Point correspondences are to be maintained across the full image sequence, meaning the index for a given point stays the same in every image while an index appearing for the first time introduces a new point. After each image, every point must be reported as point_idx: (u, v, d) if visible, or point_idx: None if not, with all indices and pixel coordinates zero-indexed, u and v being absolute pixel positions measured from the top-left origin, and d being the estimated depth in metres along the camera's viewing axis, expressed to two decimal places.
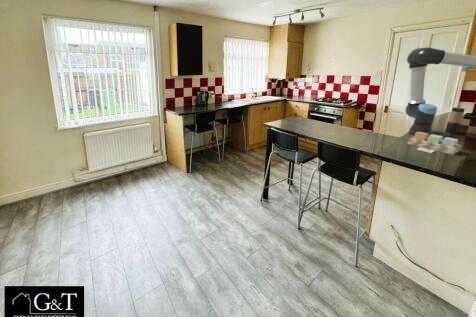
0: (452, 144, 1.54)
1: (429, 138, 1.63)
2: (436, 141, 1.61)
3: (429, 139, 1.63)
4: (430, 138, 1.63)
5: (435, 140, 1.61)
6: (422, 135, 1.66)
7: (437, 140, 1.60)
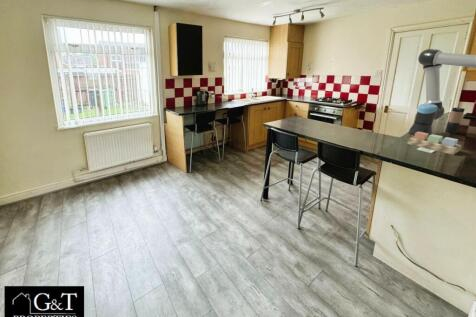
0: (452, 144, 1.54)
1: (429, 138, 1.63)
2: (436, 141, 1.61)
3: (429, 139, 1.63)
4: (430, 138, 1.63)
5: (435, 140, 1.61)
6: (422, 135, 1.66)
7: (437, 140, 1.60)
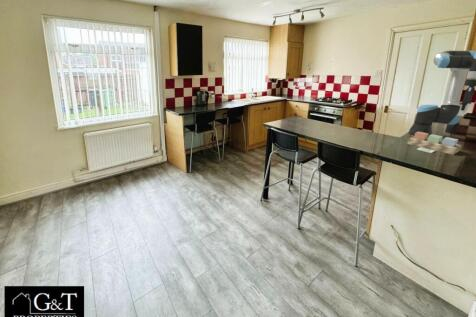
0: (452, 144, 1.54)
1: (429, 138, 1.63)
2: (436, 141, 1.61)
3: (429, 139, 1.63)
4: (430, 138, 1.63)
5: (435, 140, 1.61)
6: (422, 135, 1.66)
7: (437, 140, 1.60)
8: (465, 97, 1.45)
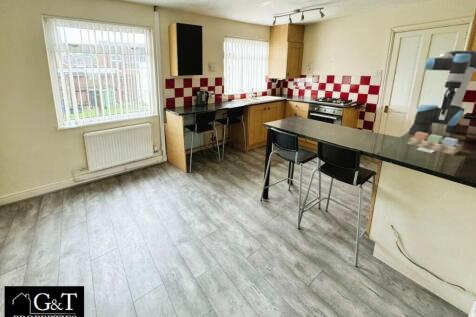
0: (452, 144, 1.54)
1: (429, 138, 1.63)
2: (436, 141, 1.61)
3: (429, 139, 1.63)
4: (430, 138, 1.63)
5: (435, 140, 1.61)
6: (422, 135, 1.66)
7: (437, 140, 1.60)
8: (443, 103, 1.53)
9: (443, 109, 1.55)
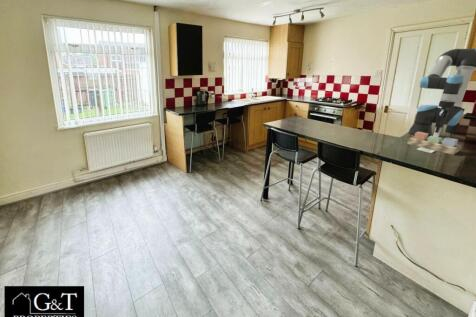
0: (452, 144, 1.54)
1: (429, 139, 1.64)
2: (436, 142, 1.61)
3: (429, 140, 1.64)
4: (430, 139, 1.63)
5: (435, 141, 1.61)
6: (422, 135, 1.66)
7: (437, 141, 1.60)
8: (437, 121, 1.57)
9: (437, 127, 1.60)
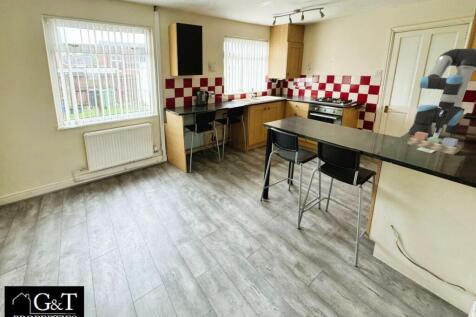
0: (452, 144, 1.54)
1: (428, 141, 1.64)
2: None
3: None
4: (429, 141, 1.64)
5: None
6: (422, 135, 1.66)
7: None
8: (437, 122, 1.57)
9: (437, 128, 1.60)
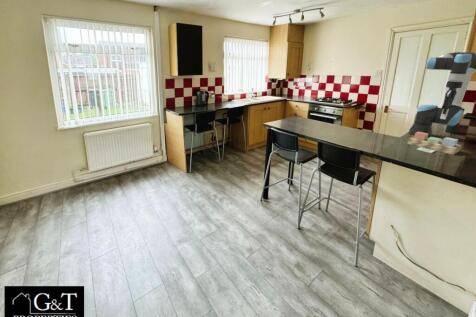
0: (452, 144, 1.54)
1: (428, 141, 1.64)
2: None
3: None
4: (429, 141, 1.64)
5: None
6: (422, 135, 1.66)
7: None
8: (444, 102, 1.54)
9: (444, 109, 1.57)
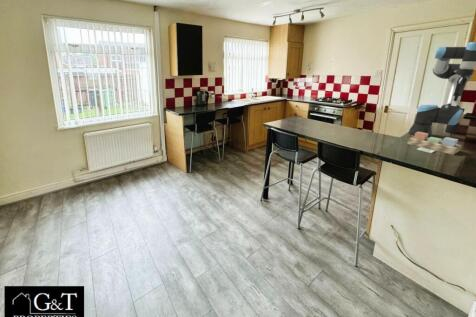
0: (452, 144, 1.54)
1: (428, 141, 1.64)
2: None
3: None
4: (429, 141, 1.64)
5: None
6: (422, 135, 1.66)
7: None
8: (456, 89, 1.60)
9: (456, 96, 1.63)
